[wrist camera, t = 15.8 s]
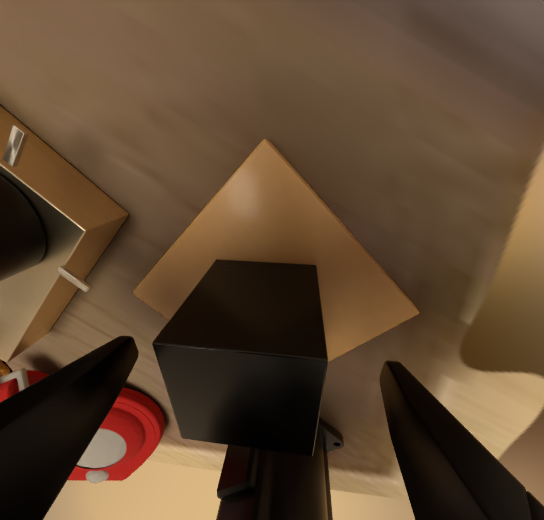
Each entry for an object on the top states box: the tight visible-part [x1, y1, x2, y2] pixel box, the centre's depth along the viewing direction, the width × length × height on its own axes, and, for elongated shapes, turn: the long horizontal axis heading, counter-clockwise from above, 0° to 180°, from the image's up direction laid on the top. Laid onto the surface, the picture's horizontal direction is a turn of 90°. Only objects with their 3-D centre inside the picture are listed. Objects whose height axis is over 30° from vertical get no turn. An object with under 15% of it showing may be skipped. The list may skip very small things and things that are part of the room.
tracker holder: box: [0, 368, 165, 483], centre depth 18 cm, size 12×4×10 cm
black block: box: [153, 259, 328, 456], centre depth 9 cm, size 4×4×5 cm
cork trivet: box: [132, 139, 419, 362], centre depth 12 cm, size 10×10×1 cm
